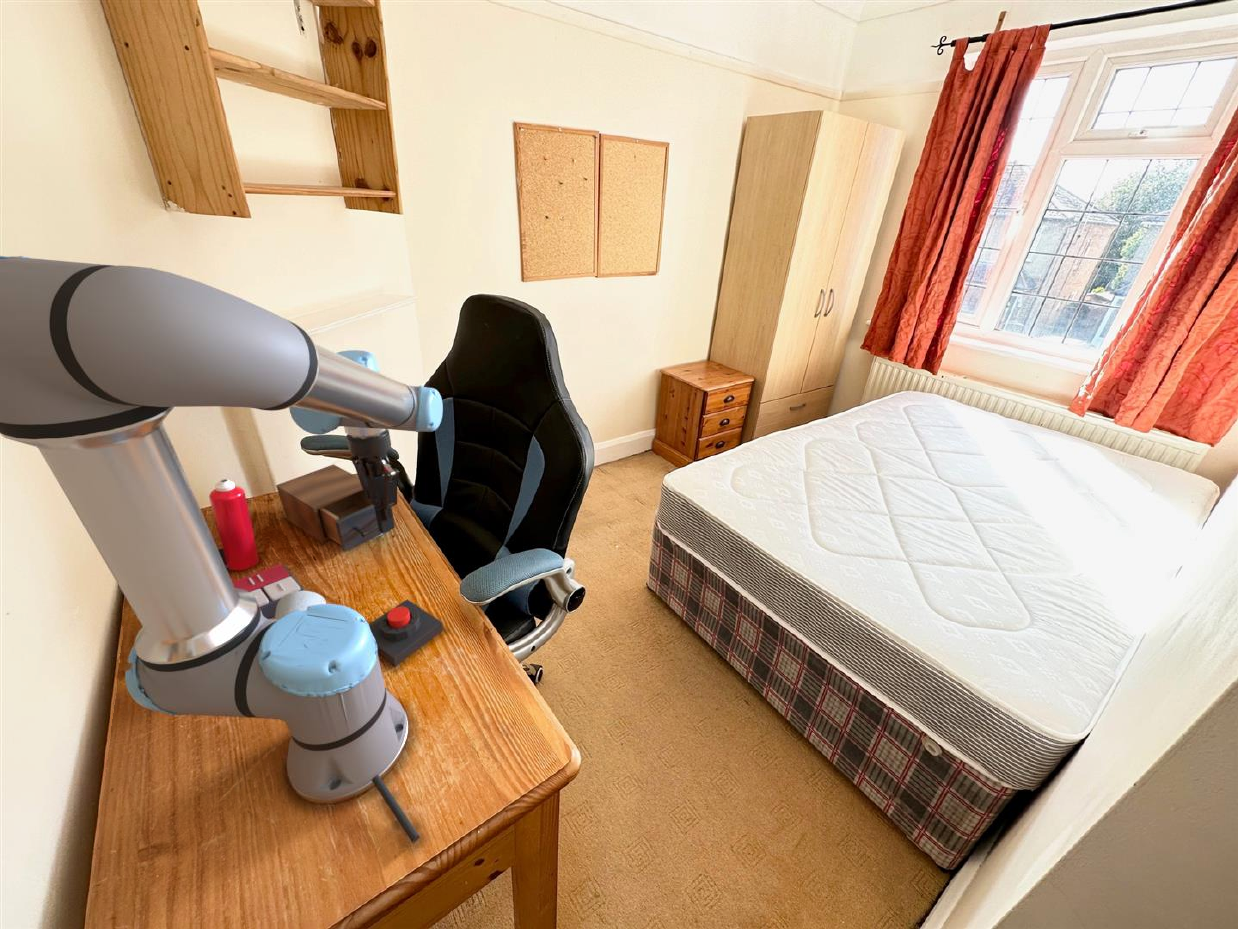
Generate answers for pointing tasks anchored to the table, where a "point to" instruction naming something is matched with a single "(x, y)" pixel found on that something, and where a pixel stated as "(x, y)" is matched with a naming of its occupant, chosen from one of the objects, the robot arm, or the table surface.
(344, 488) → the cabinet
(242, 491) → the bottle
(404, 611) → the button
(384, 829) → the table surface
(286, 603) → the ceramic mug
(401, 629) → the panel
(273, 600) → the calculator
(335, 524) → the drawer
